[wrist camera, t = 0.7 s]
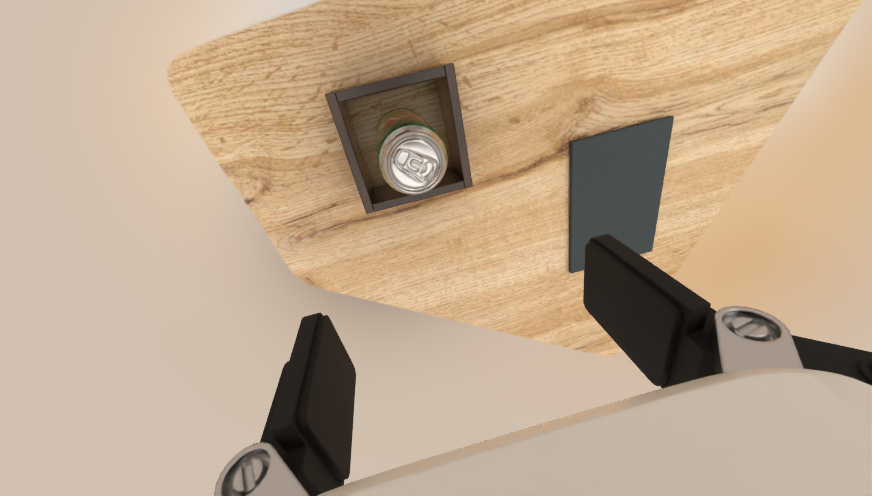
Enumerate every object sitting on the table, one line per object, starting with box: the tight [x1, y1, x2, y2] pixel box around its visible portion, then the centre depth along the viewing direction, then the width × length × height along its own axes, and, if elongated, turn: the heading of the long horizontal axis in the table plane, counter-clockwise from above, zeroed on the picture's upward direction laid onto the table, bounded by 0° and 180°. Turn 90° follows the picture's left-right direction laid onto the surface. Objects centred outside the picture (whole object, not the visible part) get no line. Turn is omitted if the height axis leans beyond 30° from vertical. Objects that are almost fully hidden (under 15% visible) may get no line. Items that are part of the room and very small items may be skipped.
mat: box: [569, 116, 674, 273], centre depth 40 cm, size 18×12×1 cm, turn 12°
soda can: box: [377, 109, 448, 195], centre depth 27 cm, size 5×5×12 cm
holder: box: [325, 63, 473, 214], centre depth 30 cm, size 11×11×5 cm
